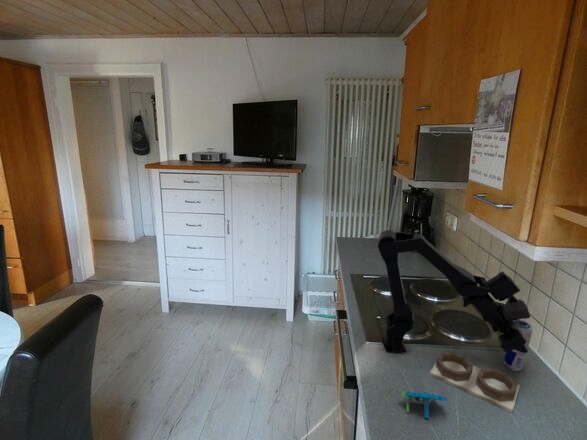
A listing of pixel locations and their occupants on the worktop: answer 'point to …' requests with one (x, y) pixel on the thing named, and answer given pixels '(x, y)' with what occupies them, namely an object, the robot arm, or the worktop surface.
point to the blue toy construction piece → (426, 401)
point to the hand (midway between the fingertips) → (523, 346)
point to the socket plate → (476, 380)
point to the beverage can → (514, 357)
